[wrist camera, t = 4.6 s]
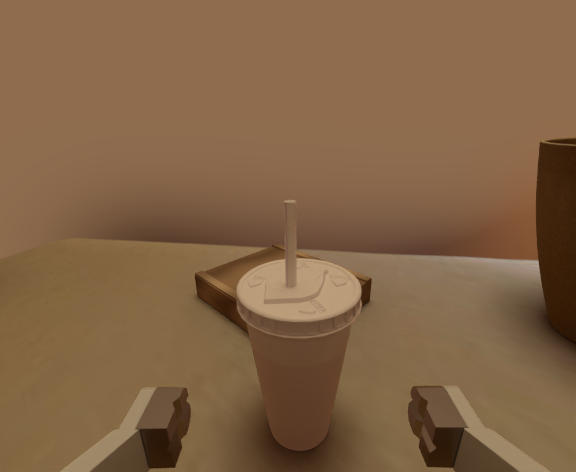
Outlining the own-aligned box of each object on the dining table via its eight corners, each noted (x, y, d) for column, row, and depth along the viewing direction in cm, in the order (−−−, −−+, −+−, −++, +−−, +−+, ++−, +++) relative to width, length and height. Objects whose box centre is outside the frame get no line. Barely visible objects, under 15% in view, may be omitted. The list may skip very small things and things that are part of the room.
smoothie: (225, 424, 18) (199, 201, 14) (294, 365, 23) (292, 182, 18) (306, 508, 14) (308, 231, 9) (371, 417, 19) (395, 196, 14)
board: (197, 295, 33) (194, 273, 32) (277, 261, 40) (277, 243, 40) (288, 361, 23) (287, 333, 22) (369, 300, 31) (371, 277, 30)
